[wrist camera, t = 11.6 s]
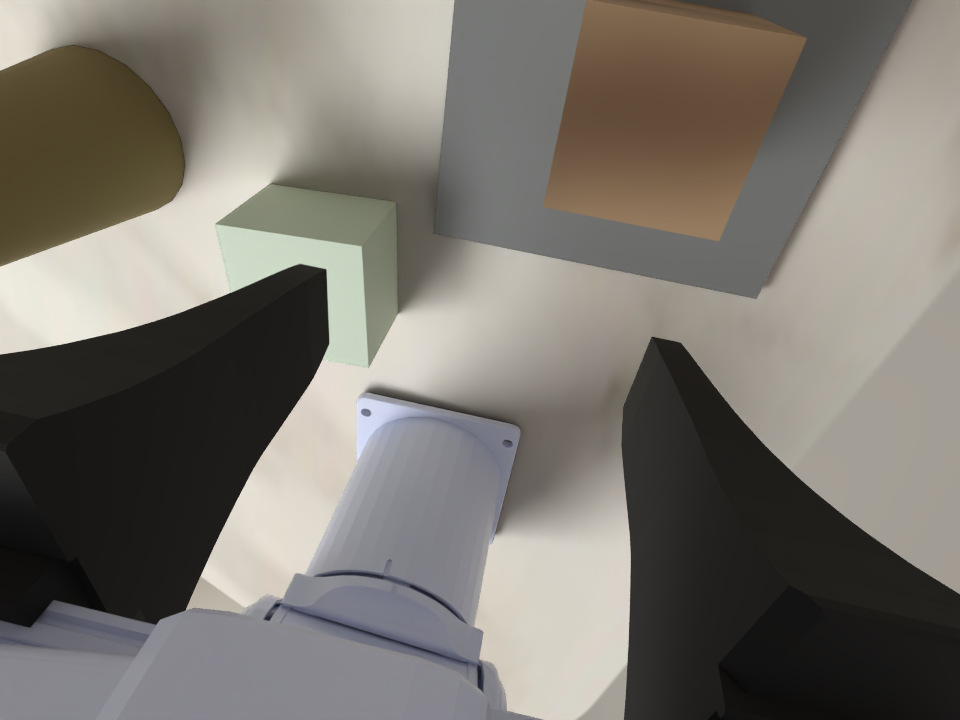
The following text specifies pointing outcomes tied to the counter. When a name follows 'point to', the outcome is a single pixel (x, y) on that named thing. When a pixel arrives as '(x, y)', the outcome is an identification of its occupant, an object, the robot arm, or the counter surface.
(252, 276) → the sage block
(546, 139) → the mat
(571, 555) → the counter surface
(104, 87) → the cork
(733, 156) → the walnut block
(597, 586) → the counter surface
